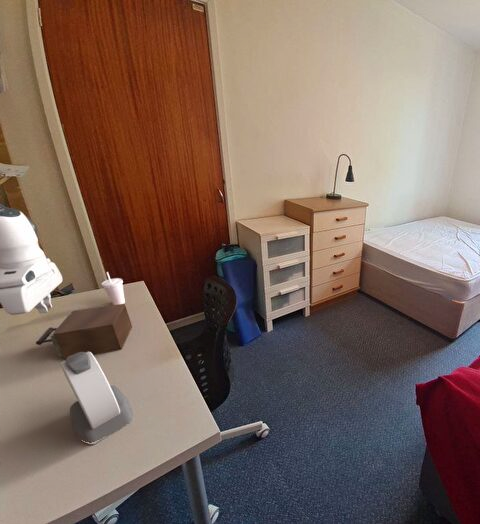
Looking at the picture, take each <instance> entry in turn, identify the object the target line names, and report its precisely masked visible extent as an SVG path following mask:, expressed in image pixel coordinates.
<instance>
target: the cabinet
mask: <svg viewBox="0 0 480 524" xmlns="http://www.w3.org/2000/svg"><path fill="white" fill-rule="evenodd" d="M69 315H70V316H69V317H68V318H67V317H66V318H67V319H66V318H65V319H66V320H65V319H64V320H65V321H64V320H63V321H64V323H63V324H62V325H61V324H60V325H61V326H60V325H59V326H60V327H59V326H58V327H59V328H58V327H57V328H58V330H57V331H56V332H55V333H54V332H53V333H54V336H55V338H56V340H57V343H58V345H59V347H60V349H61V351H62V353H63V355H64V357H63V358H64V359H65V360H66V359H67V357H69V356H71V355H74V354H76V353H78V352H85V353H86V352H91V353H92V354H93V356H96V355H100V354H106V353H111V352H117V351H121V350H123V348H124V345H125V343H126V341H127V339H128V337H129V334H130V333H131V331H132V329H133V324H132V321H131V319H130V315H129V312H128V309H127V305H126V303H124V304H118V305H113V304H112V305H105V306H99V307H91V308H85V309H84V308H83V309H78V310H77V309H76V310H73V311H72V312H71V313H70V314H69Z"/></svg>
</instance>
